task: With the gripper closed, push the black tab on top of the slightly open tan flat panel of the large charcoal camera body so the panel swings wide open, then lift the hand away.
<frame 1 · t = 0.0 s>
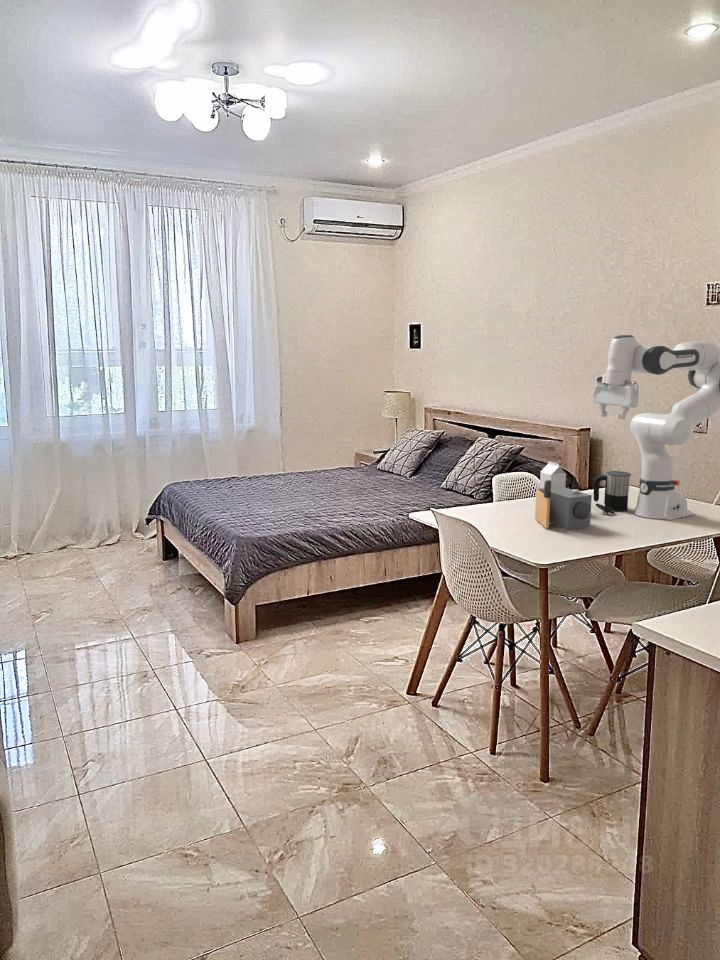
hand: (612, 417, 278), 39 cm above the table, tool pointing down, fingers open, 8 cm apart
camera body: (563, 523, 283), on the table
milk carton: (551, 509, 305), on the table
tan flat panel: (542, 500, 279), point 9 cm above the table, hinge at 20.0°
milk frother: (611, 511, 302), on the table
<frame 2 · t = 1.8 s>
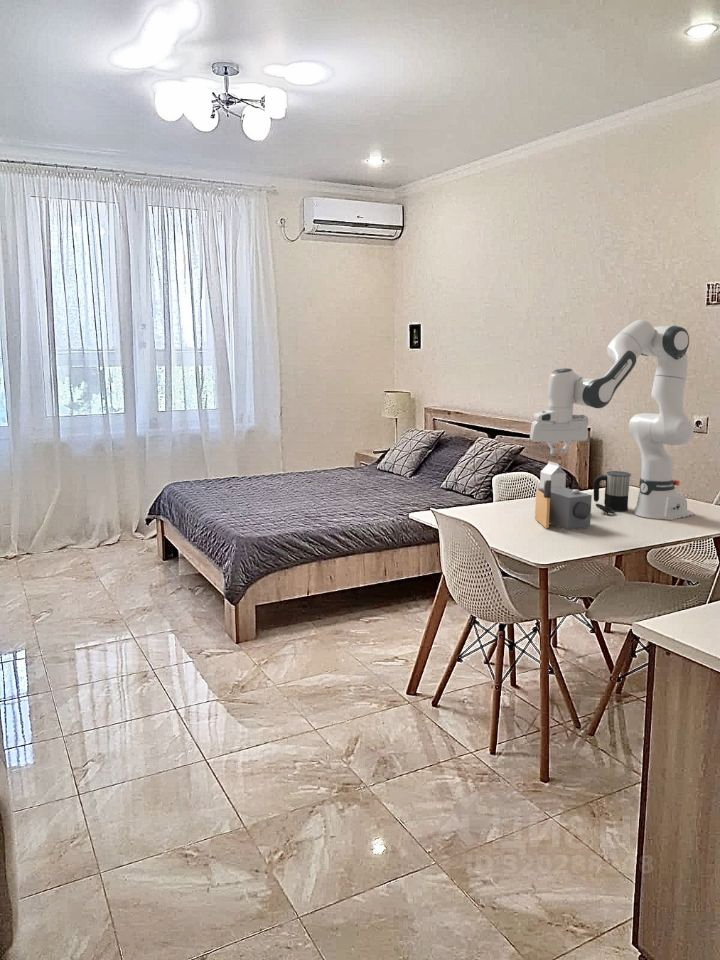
hand: (558, 453, 272), 27 cm above the table, tool pointing down, fingers closed
nothing on the table moved.
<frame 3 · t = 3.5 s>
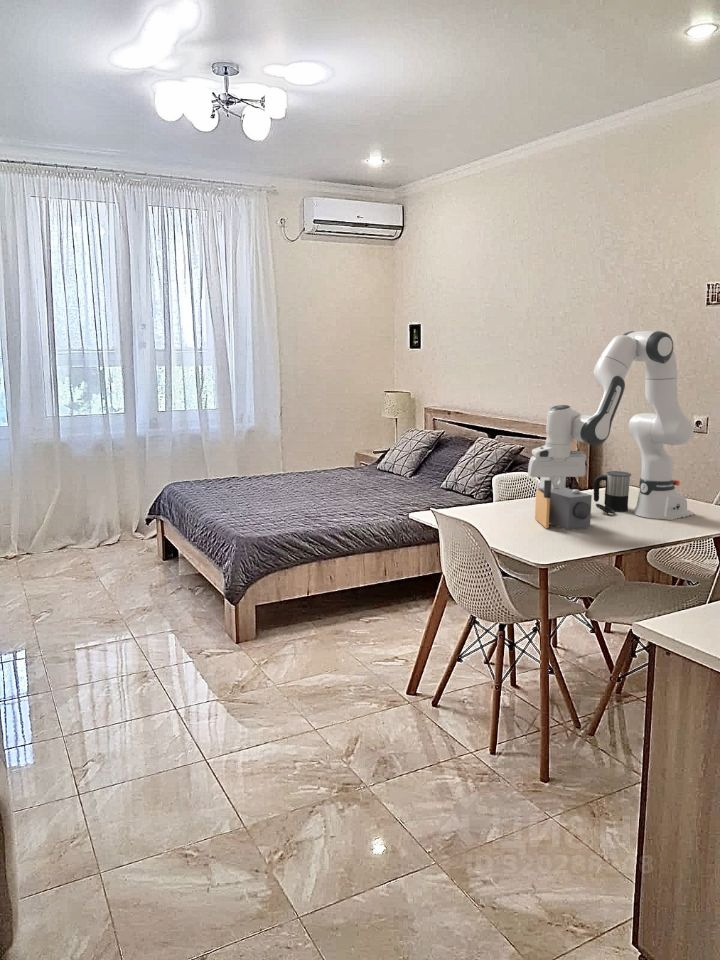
hand: (555, 488, 275), 14 cm above the table, tool pointing down, fingers closed
tan flat panel: (542, 500, 279), point 9 cm above the table, hinge at 20.1°, touching gripper
everything else where it was.
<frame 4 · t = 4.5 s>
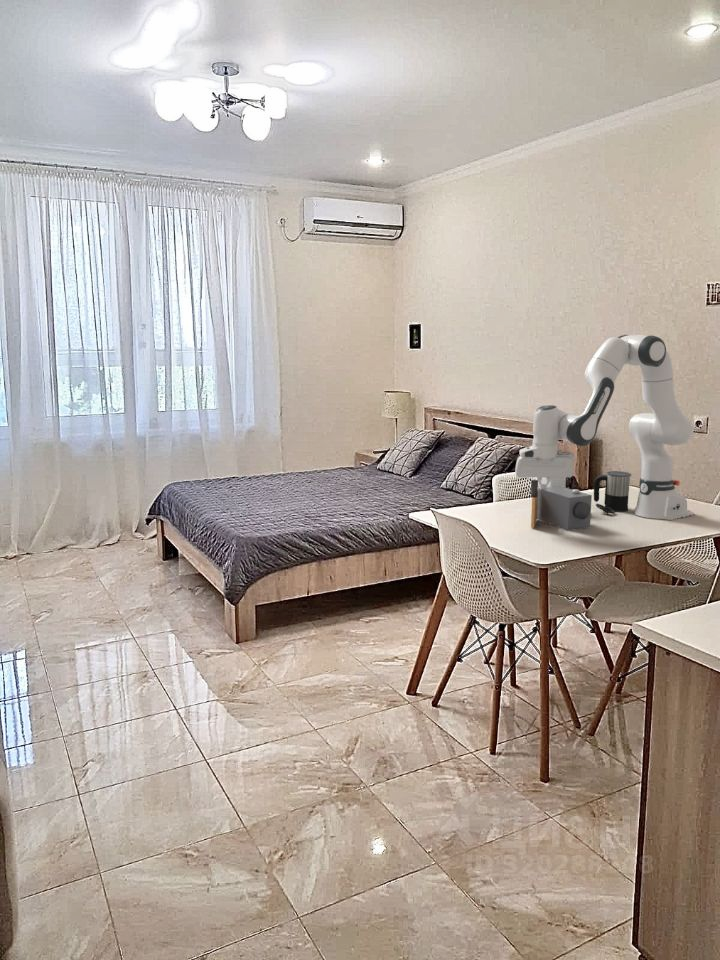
hand: (543, 489, 274), 14 cm above the table, tool pointing down, fingers closed
tan flat panel: (535, 500, 280), point 9 cm above the table, hinge at 41.3°, touching gripper
everything else where it was.
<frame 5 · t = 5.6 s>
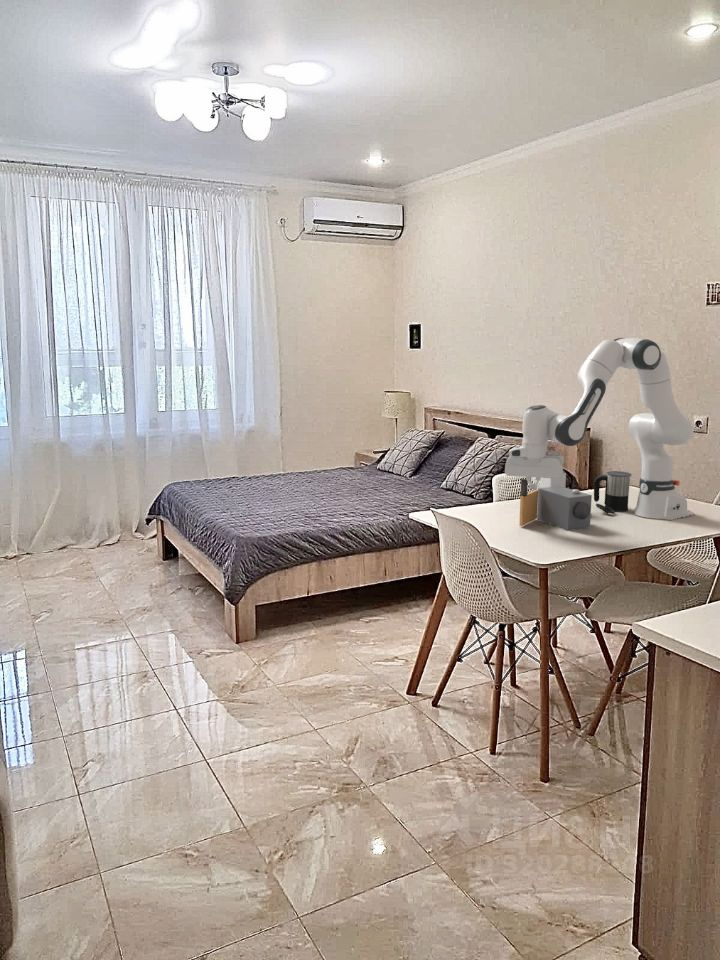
hand: (533, 489, 274), 14 cm above the table, tool pointing down, fingers closed
tan flat panel: (529, 499, 281), point 9 cm above the table, hinge at 58.7°, touching gripper
everything else where it was.
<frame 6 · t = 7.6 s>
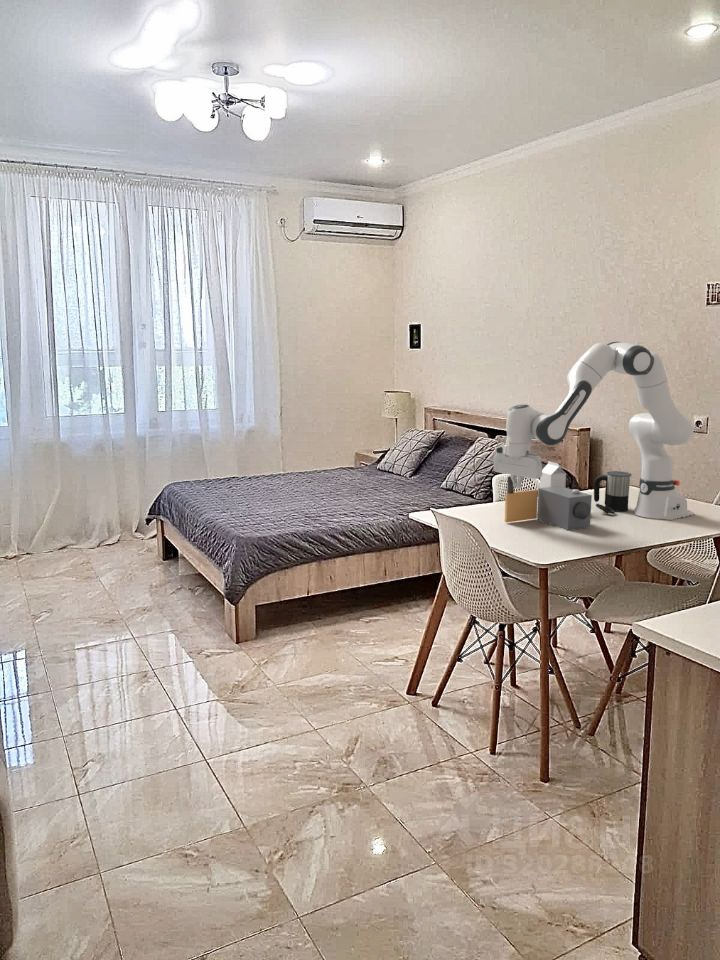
hand: (517, 487, 278), 14 cm above the table, tool pointing down, fingers closed
tan flat panel: (521, 498, 284), point 9 cm above the table, hinge at 87.8°, touching gripper
everything else where it was.
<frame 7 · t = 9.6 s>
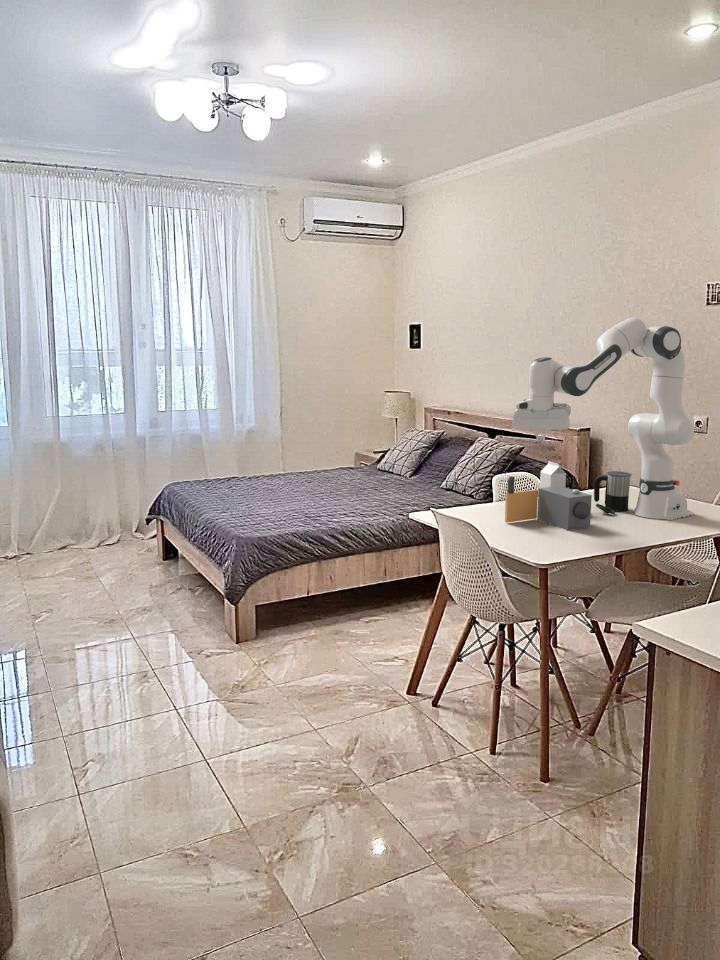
hand: (540, 441, 277), 31 cm above the table, tool pointing down, fingers closed
tan flat panel: (521, 498, 284), point 9 cm above the table, hinge at 87.4°
everything else where it was.
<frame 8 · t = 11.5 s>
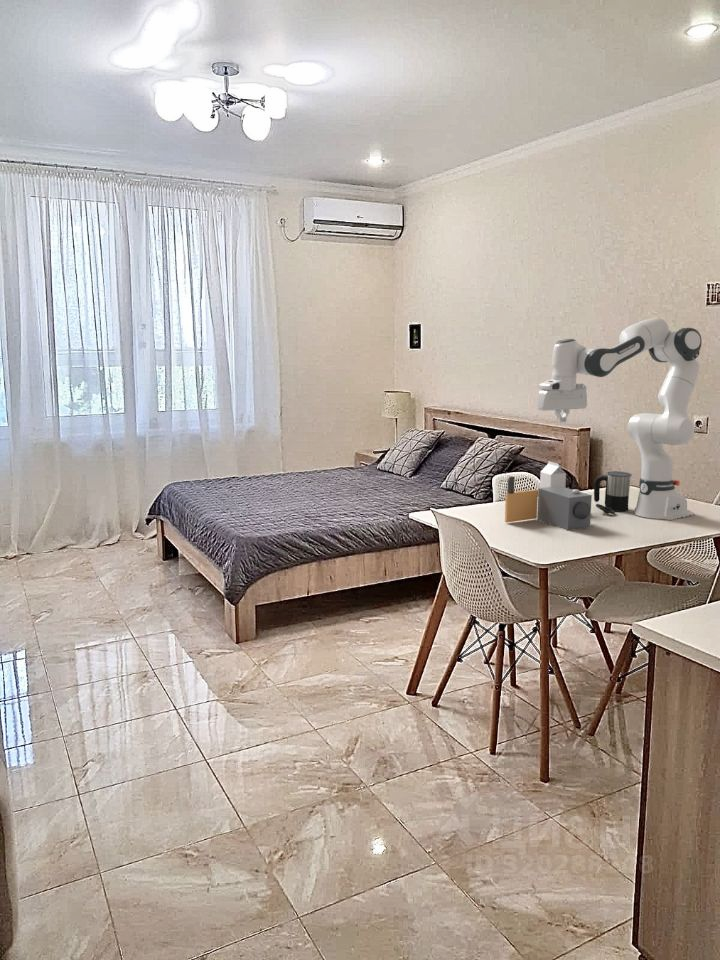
hand: (561, 421, 282), 37 cm above the table, tool pointing down, fingers closed
nothing on the table moved.
at the end: tan flat panel at +87° (first picture: +20°); milk carton moved 0.2 cm from its start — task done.
